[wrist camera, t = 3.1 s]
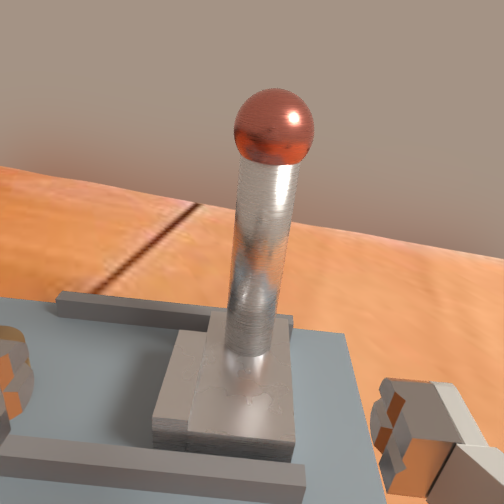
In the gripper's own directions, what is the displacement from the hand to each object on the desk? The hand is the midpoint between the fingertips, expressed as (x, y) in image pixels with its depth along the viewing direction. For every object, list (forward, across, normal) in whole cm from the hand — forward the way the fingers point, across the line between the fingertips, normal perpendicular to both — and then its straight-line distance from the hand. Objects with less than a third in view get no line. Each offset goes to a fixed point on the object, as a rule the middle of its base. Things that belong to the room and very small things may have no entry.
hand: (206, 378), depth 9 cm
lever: (+10, +1, -11) cm, 14 cm away
